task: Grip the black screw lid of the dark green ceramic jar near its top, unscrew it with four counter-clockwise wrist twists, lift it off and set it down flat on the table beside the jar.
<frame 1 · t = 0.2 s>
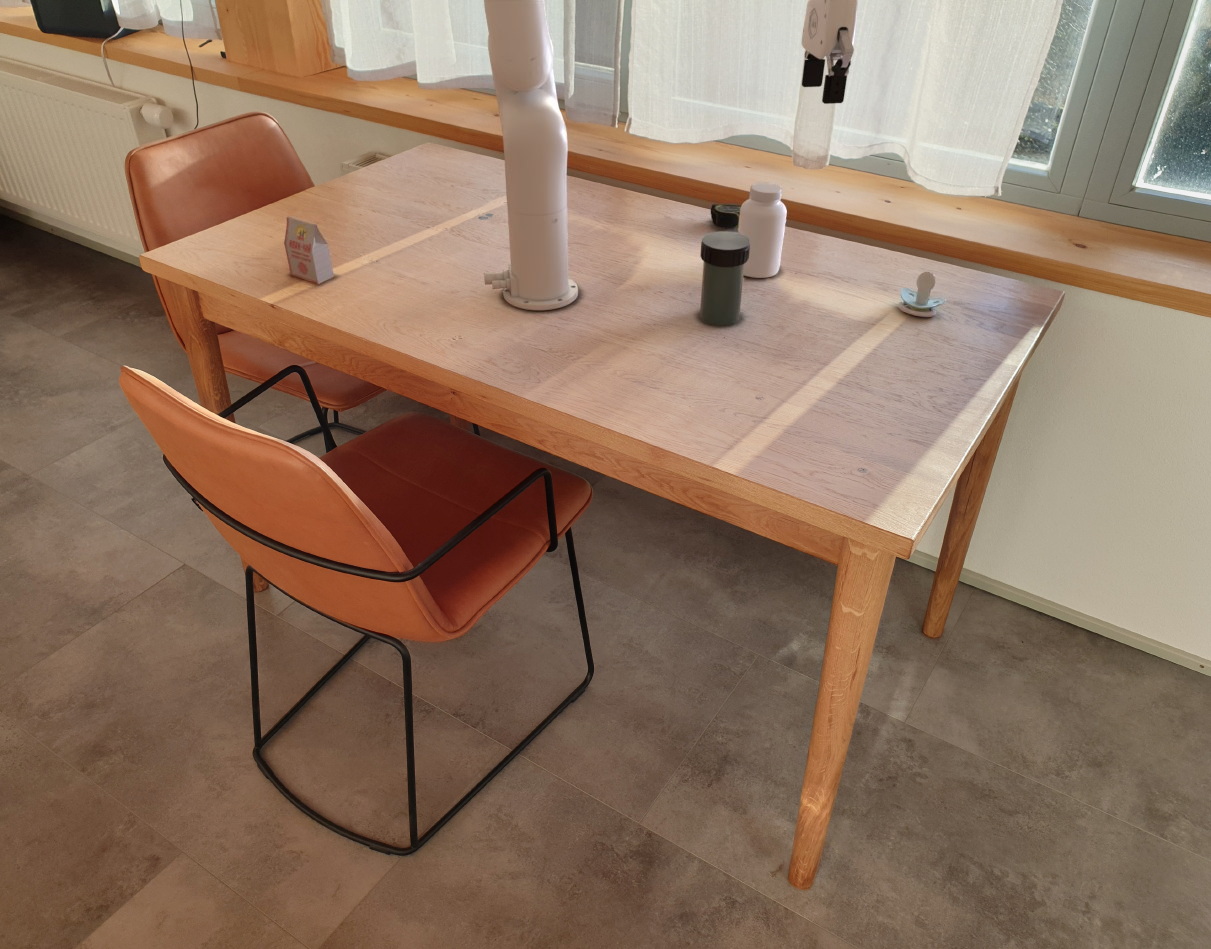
hand: (821, 94, 145), 31 cm above the table, tool pointing down, fingers open, 9 cm apart
jar: (719, 316, 152), on the table
tape measure: (726, 225, 184), on the table
white snack box: (312, 277, 164), on the table
pacifier: (917, 311, 154), on the table
pill bottle: (756, 271, 167), on the table
lid: (725, 243, 144), point 12 cm above the table, screwed on, not yet turned
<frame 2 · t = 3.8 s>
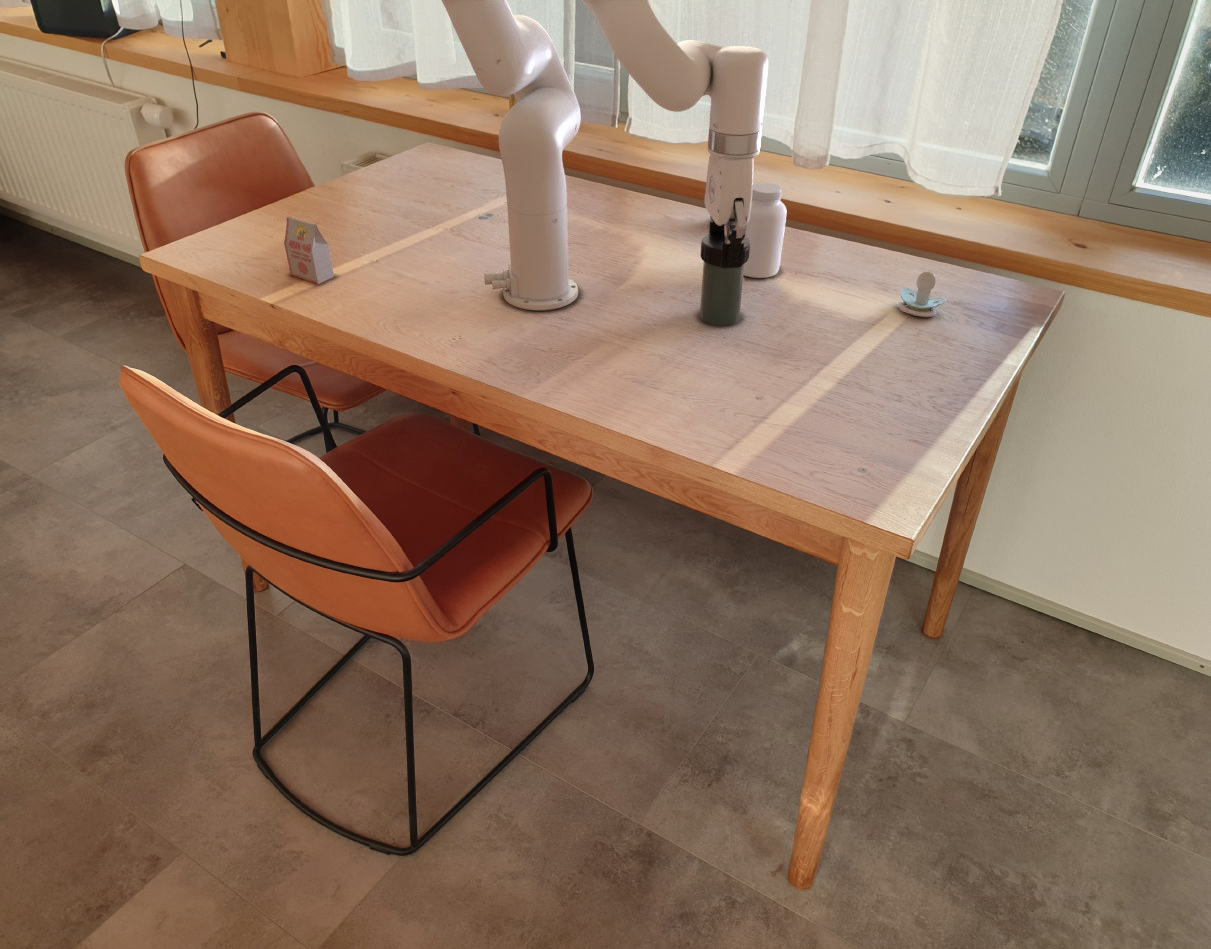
hand: (724, 255, 145), 10 cm above the table, tool pointing down, fingers closed on lid, 7 cm apart
lid: (725, 243, 144), point 12 cm above the table, screwed on, not yet turned, touching gripper
everything else where it was.
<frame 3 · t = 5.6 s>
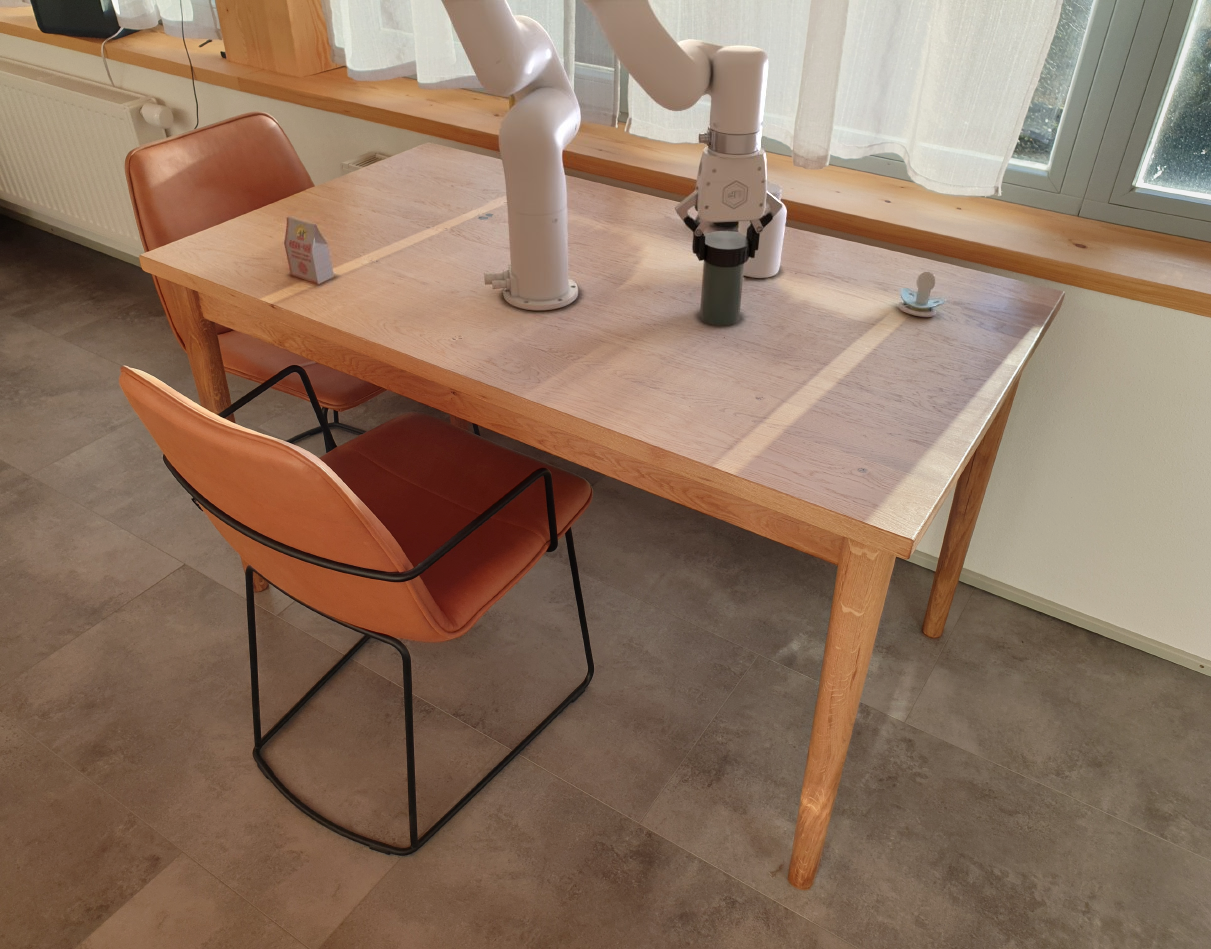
hand: (724, 255, 145), 11 cm above the table, tool pointing down, fingers closed on lid, 7 cm apart
lid: (725, 243, 144), point 13 cm above the table, turned 90° so far, risen 0.1 cm, still on its thread, touching gripper
everything else where it was.
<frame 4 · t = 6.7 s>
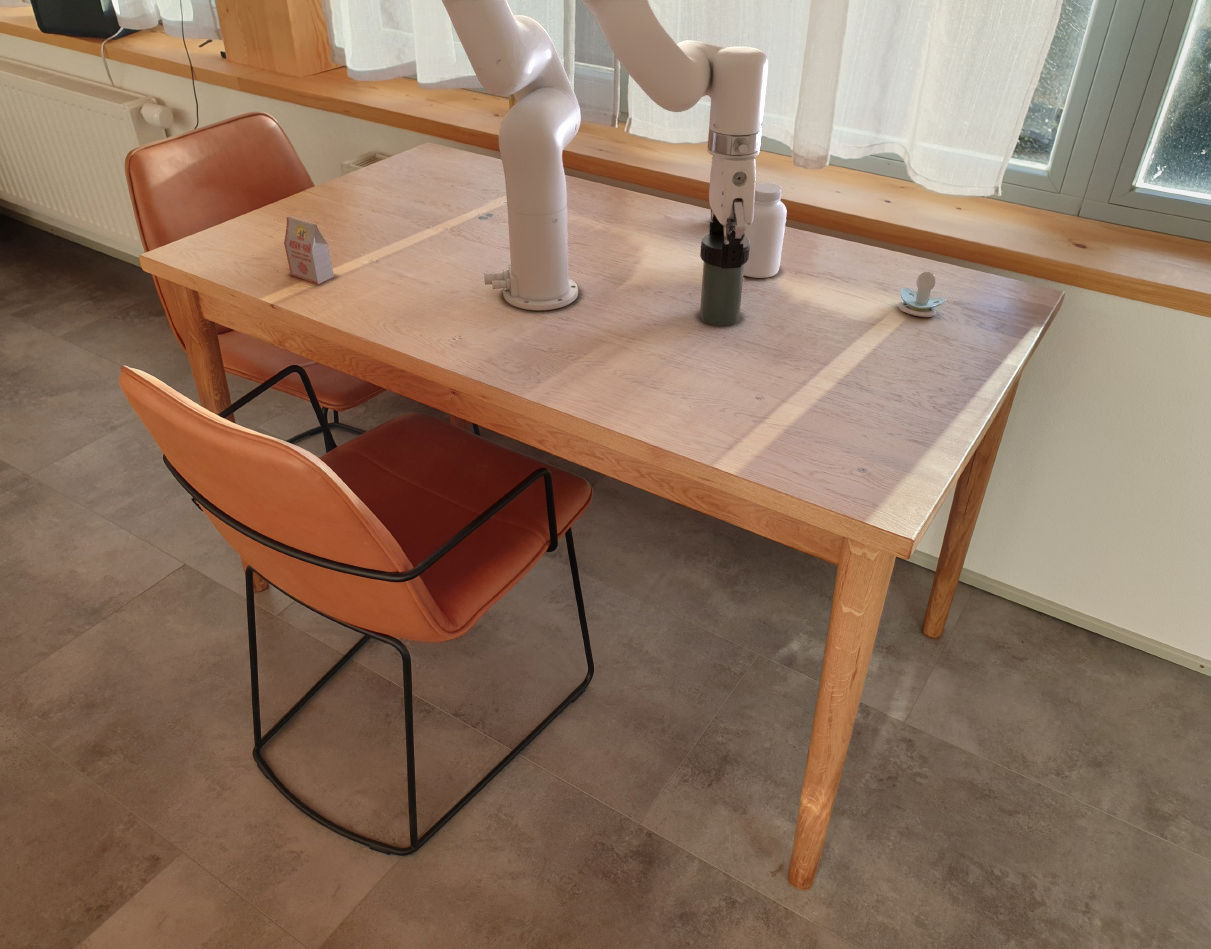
hand: (724, 256, 145), 10 cm above the table, tool pointing down, fingers closed on lid, 7 cm apart
lid: (725, 243, 144), point 12 cm above the table, off its thread, touching gripper
everything else where it was.
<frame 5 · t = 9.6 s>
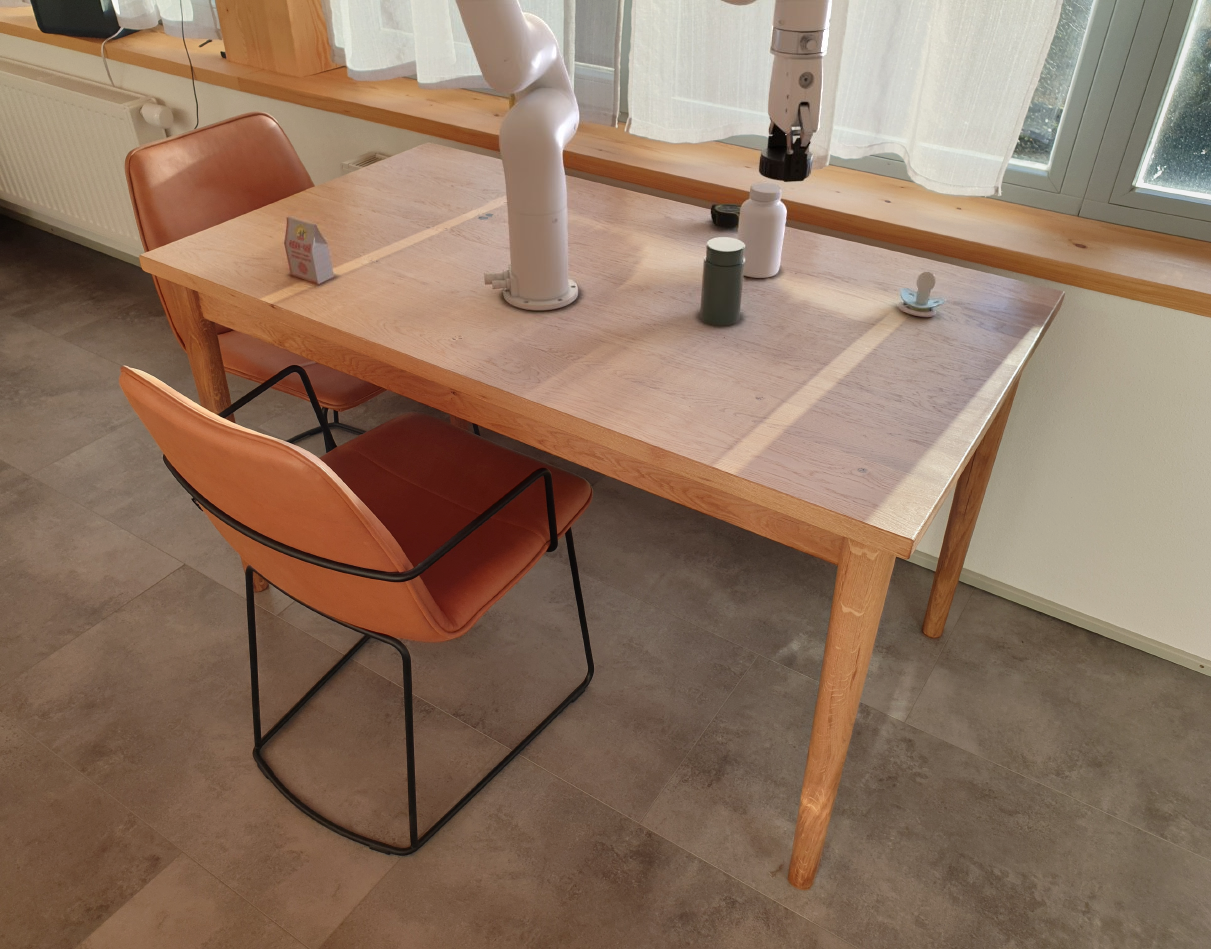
hand: (784, 170, 137), 24 cm above the table, tool pointing down, fingers closed on lid, 7 cm apart
lid: (786, 157, 136), point 26 cm above the table, off its thread, touching gripper
everything else where it was.
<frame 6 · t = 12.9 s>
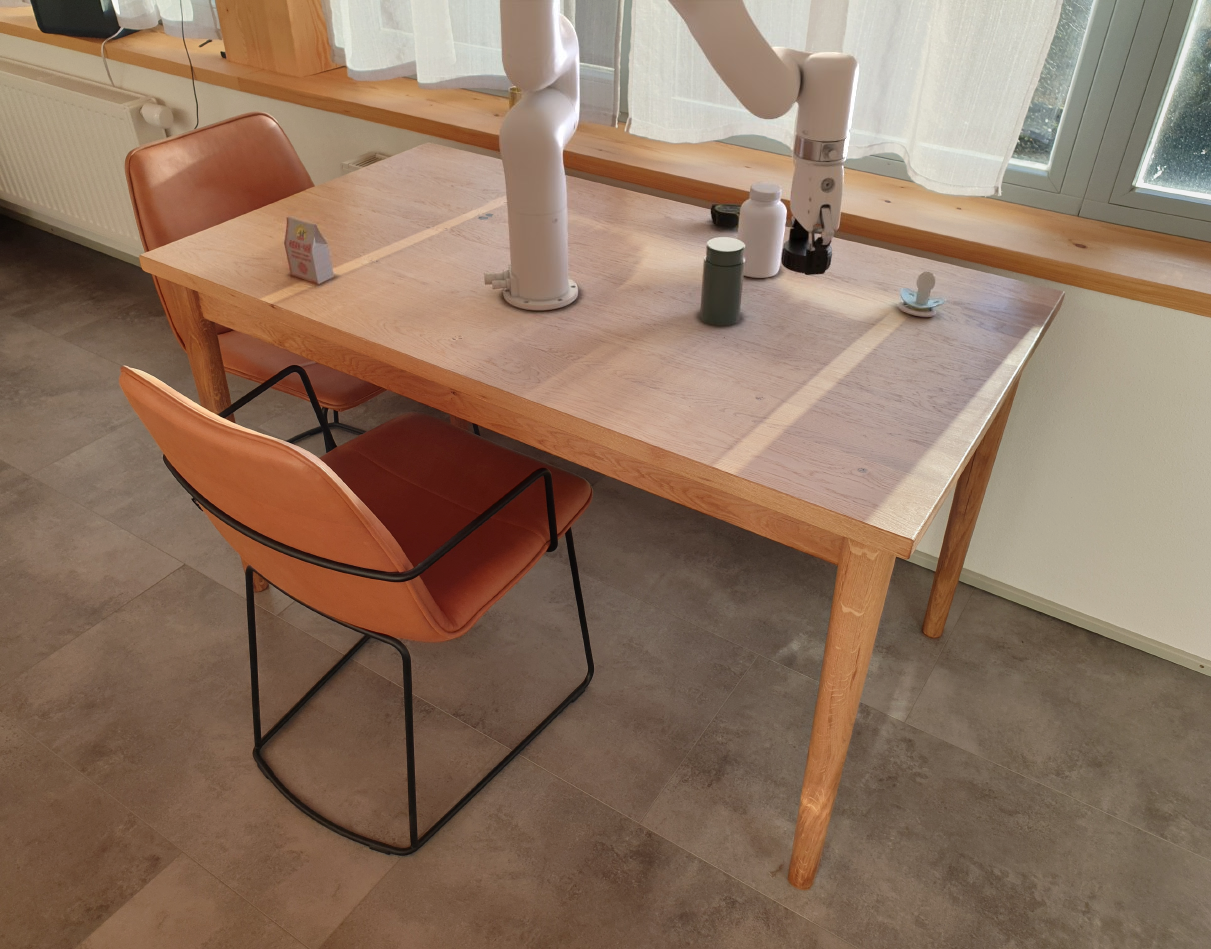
hand: (805, 262, 145), 10 cm above the table, tool pointing down, fingers closed on lid, 7 cm apart
lid: (807, 249, 144), point 12 cm above the table, off its thread, touching gripper
everything else where it was.
when the fingers open (0 cm above the table, at t = 15.7 s): lid stays where it is, point 2 cm above the table.
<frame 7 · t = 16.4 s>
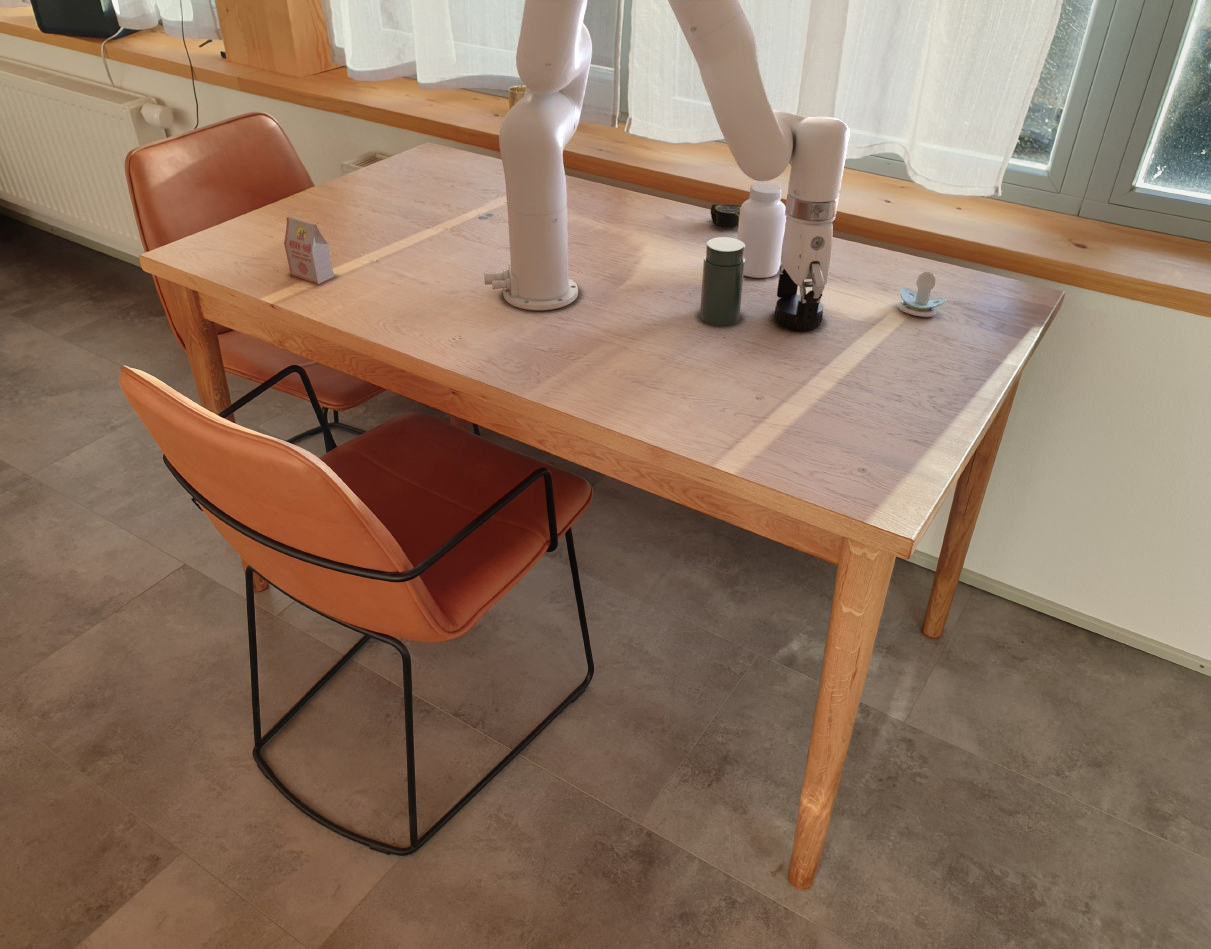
hand: (795, 310, 150), 2 cm above the table, tool pointing down, fingers open, 9 cm apart
lid: (799, 307, 149), point 2 cm above the table, off its thread
everything else where it was.
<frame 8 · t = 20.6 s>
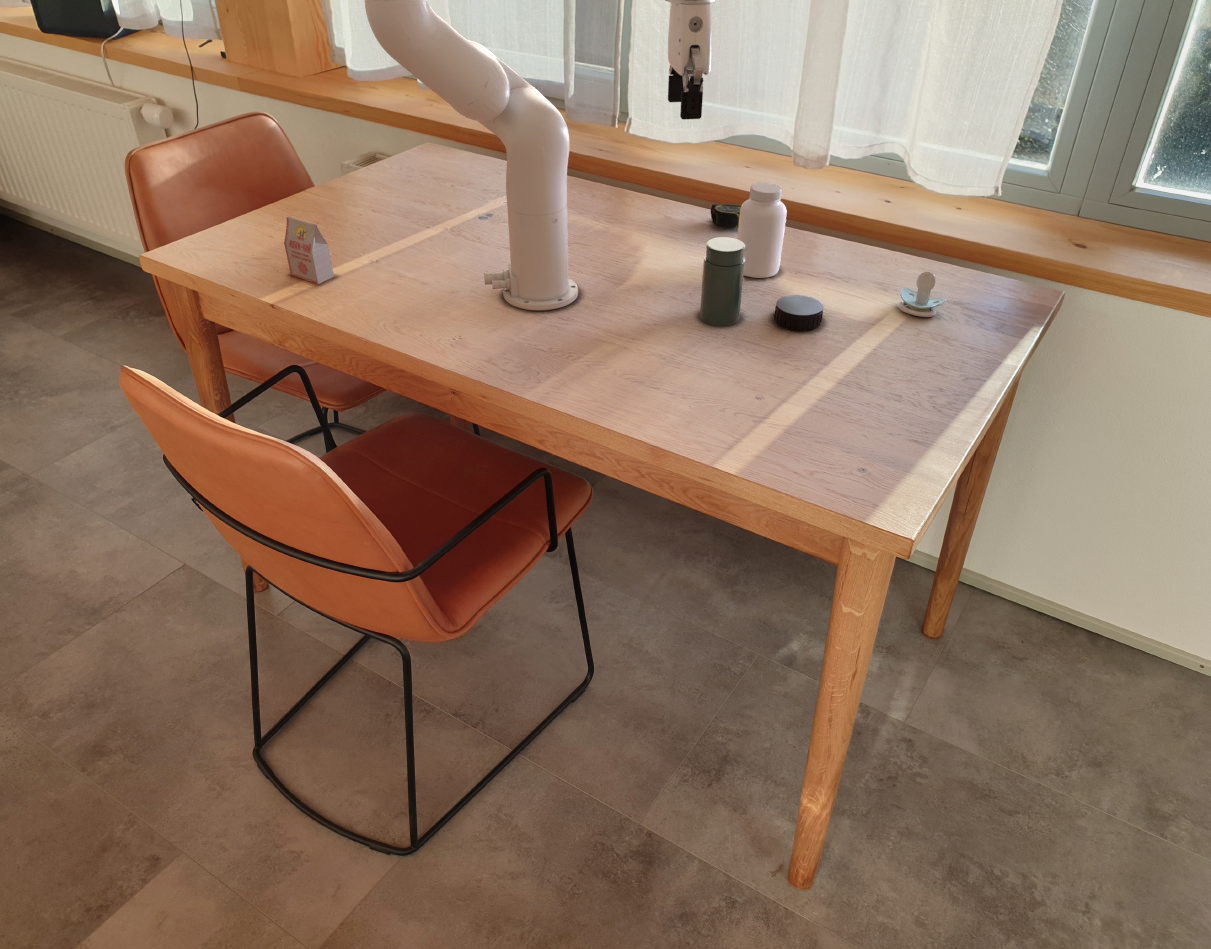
hand: (684, 109, 147), 28 cm above the table, tool pointing down, fingers open, 9 cm apart
nothing on the table moved.
at the end: lid inside the target area (0.1 cm from its centre), point 2.3 cm above the table; lid tilted 0°; jar tilted 0° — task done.
